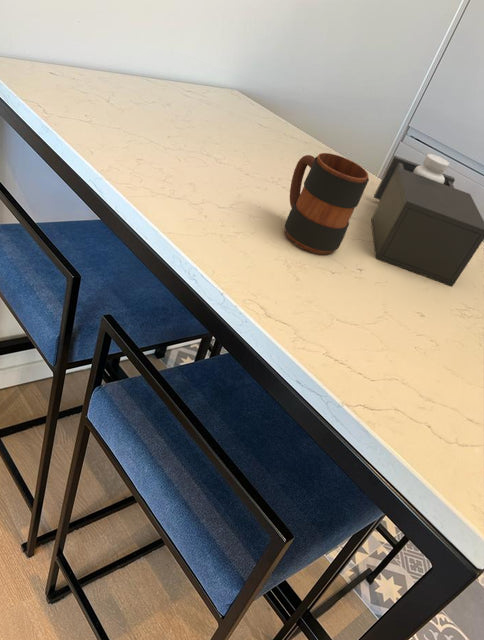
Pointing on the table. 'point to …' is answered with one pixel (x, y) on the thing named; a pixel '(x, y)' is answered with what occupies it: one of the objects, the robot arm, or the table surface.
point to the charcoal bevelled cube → (426, 227)
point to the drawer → (404, 165)
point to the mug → (323, 201)
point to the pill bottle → (432, 168)
